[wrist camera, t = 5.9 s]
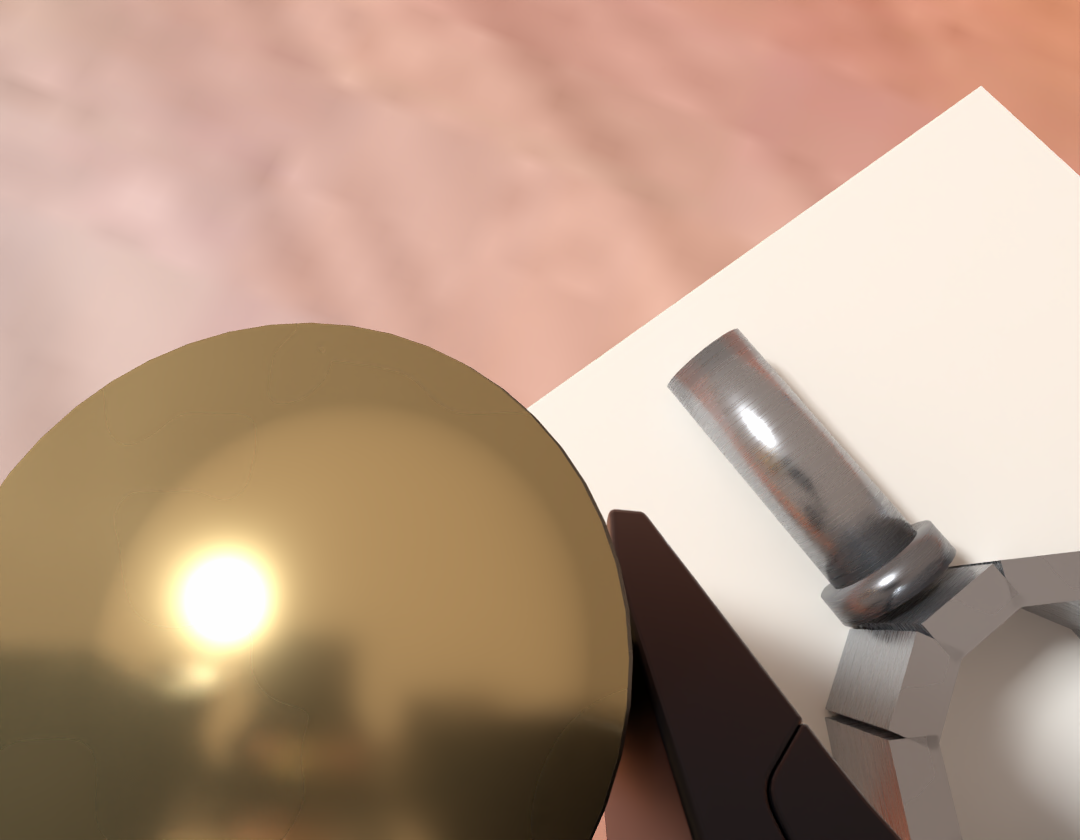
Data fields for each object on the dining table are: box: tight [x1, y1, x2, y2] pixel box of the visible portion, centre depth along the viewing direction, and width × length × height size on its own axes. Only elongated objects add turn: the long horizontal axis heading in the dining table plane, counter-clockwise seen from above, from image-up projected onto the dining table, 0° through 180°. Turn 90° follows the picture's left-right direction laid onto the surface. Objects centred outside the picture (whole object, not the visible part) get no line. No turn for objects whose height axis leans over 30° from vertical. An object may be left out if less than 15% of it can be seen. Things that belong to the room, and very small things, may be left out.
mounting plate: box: [527, 86, 1080, 840], centre depth 20 cm, size 20×18×1 cm
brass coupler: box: [0, 323, 633, 840], centre depth 10 cm, size 5×5×10 cm
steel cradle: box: [667, 328, 1080, 840], centre depth 18 cm, size 16×16×4 cm
